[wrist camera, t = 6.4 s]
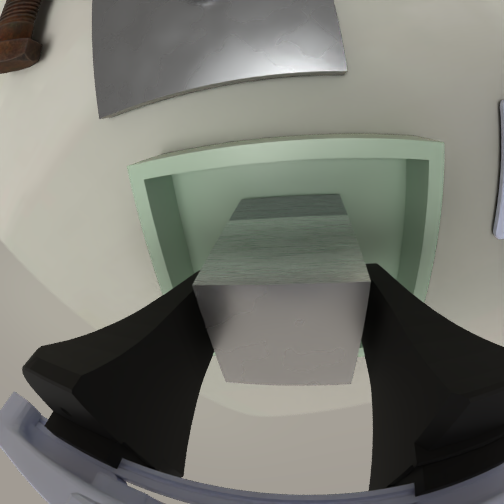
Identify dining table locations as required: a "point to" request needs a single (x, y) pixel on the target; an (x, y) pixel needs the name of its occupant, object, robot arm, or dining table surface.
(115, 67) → the stud plate
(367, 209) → the parts tray
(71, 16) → the dining table surface
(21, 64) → the bolt
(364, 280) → the grey metal block
